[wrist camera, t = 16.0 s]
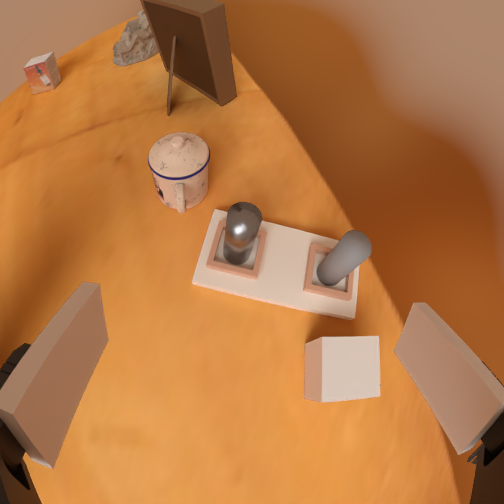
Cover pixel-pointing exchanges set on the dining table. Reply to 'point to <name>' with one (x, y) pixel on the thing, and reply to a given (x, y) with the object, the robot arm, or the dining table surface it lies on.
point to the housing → (342, 368)
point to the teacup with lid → (180, 169)
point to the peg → (241, 232)
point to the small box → (42, 73)
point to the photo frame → (194, 45)
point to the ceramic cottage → (135, 42)
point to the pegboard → (287, 268)
